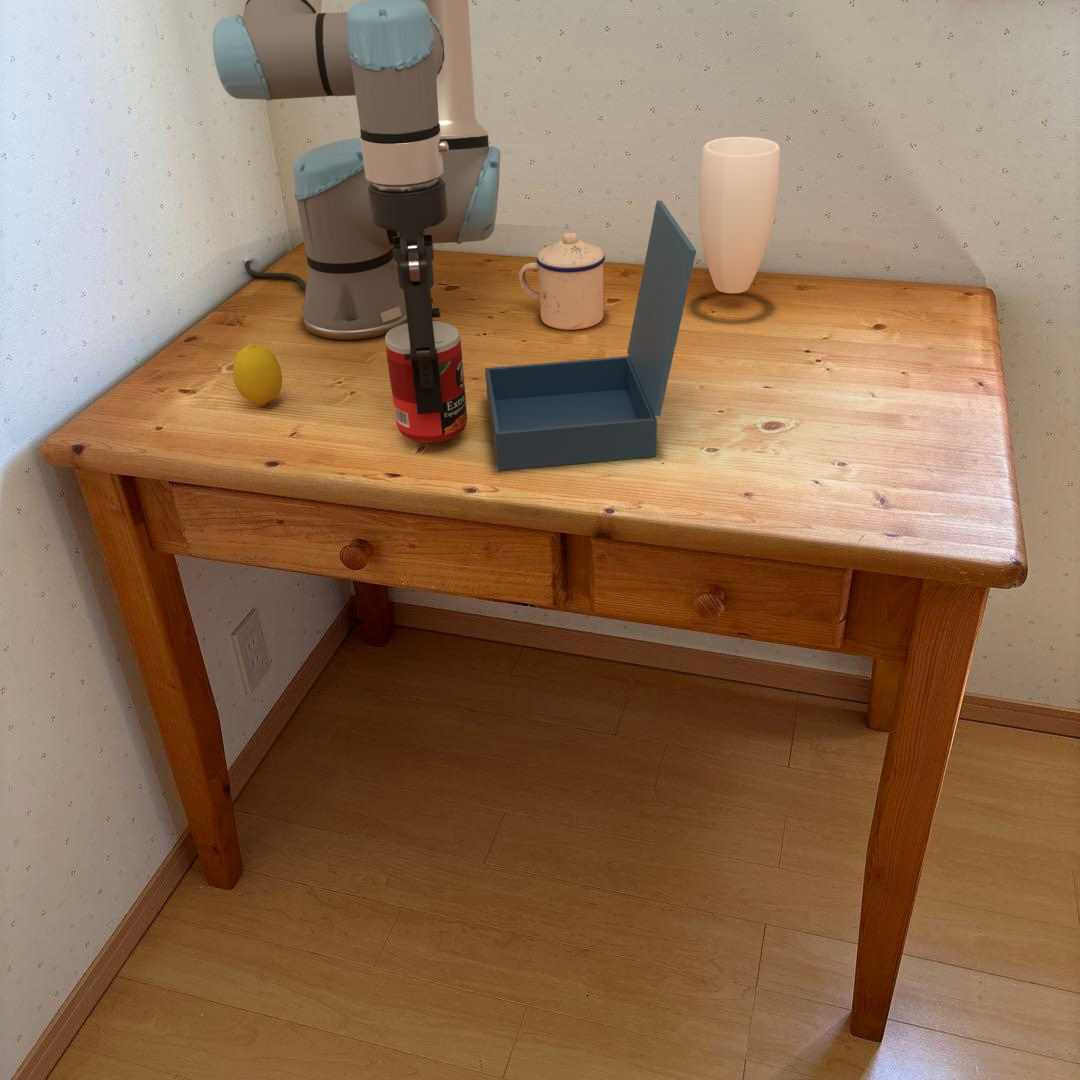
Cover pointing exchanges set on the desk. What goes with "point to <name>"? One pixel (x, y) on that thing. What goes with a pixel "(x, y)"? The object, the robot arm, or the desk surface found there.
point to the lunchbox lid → (660, 304)
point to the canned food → (451, 382)
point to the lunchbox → (569, 413)
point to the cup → (737, 207)
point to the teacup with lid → (568, 283)
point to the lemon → (257, 374)
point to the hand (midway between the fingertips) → (429, 393)
